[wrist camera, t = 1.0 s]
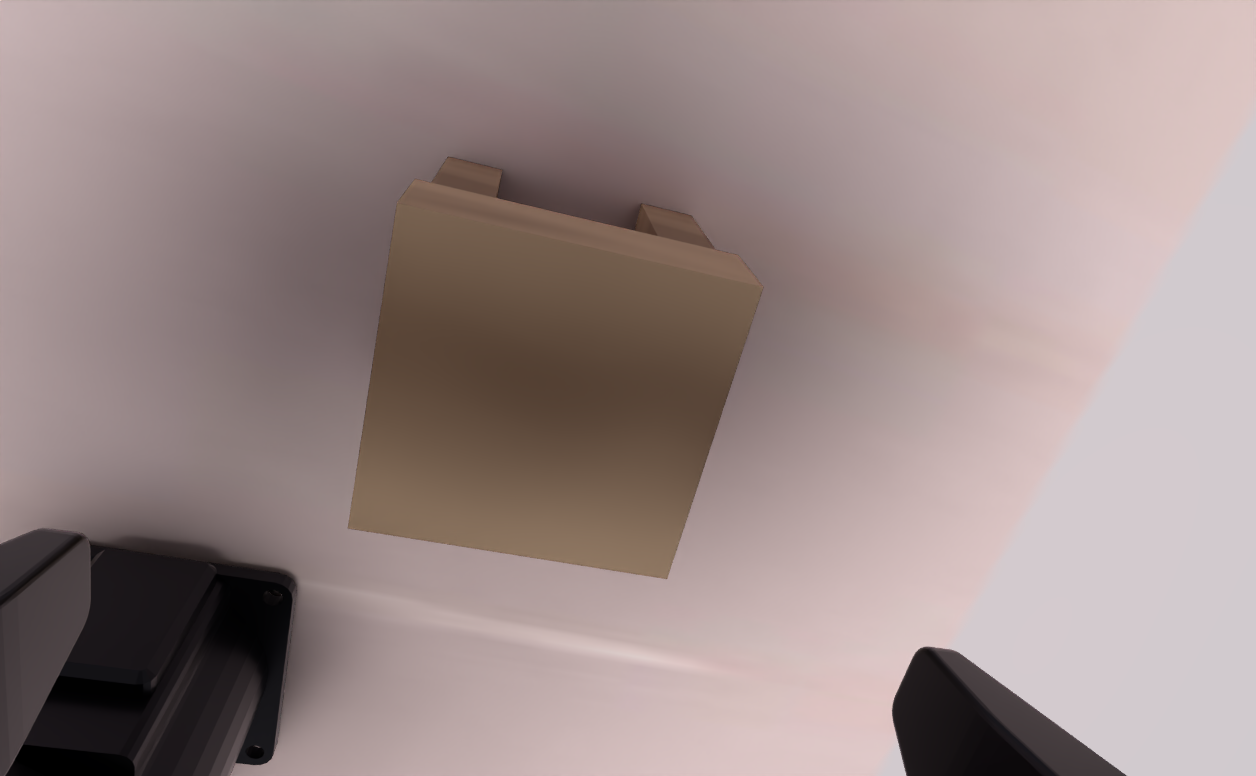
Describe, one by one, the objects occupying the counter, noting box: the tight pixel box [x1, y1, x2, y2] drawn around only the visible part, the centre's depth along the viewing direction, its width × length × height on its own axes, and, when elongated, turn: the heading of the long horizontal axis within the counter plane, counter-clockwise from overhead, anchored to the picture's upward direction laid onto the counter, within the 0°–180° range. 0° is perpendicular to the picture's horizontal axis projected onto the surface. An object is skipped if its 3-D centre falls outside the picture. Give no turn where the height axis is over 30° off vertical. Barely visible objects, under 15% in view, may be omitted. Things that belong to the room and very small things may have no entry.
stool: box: [348, 157, 763, 579], centre depth 17 cm, size 6×6×6 cm
